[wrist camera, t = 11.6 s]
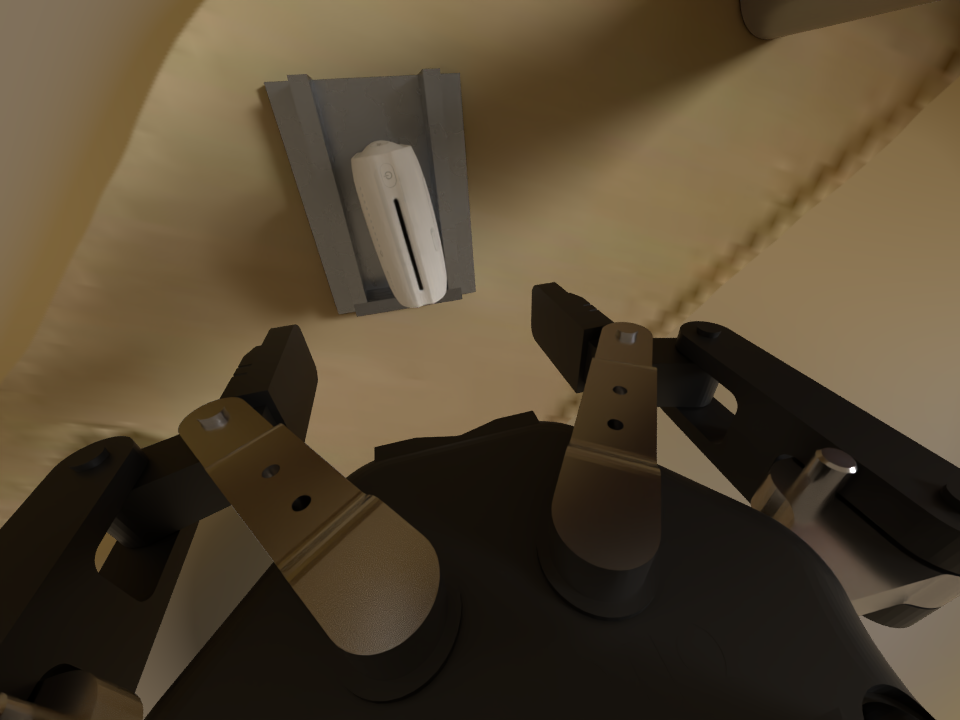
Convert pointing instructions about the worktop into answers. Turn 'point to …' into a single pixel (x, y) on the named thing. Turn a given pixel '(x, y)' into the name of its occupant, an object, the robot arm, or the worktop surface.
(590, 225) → the worktop surface
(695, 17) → the worktop surface
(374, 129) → the bracket
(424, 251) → the photo printer
